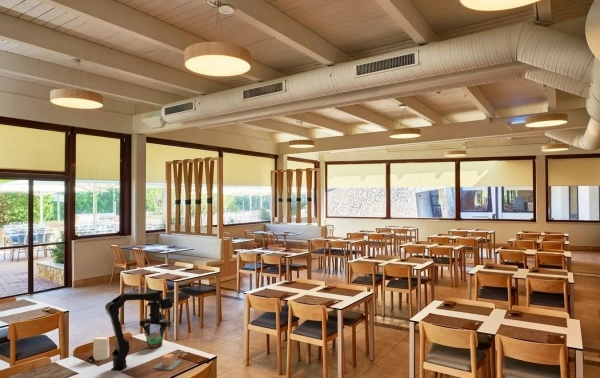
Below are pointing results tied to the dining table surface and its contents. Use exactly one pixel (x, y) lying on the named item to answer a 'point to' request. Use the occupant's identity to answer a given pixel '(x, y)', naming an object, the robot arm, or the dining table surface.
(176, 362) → the place mat
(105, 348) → the white upright block
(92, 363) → the dining table surface
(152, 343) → the food container
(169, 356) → the terracotta cube
